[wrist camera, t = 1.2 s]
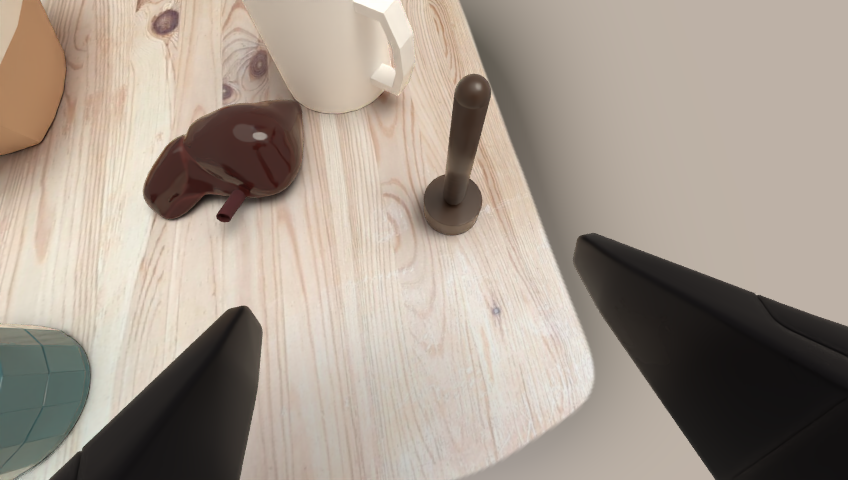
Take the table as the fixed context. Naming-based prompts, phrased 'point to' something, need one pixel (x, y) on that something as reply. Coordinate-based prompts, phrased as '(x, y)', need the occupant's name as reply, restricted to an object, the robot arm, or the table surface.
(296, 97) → the mug
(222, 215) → the liver model
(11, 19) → the bowl
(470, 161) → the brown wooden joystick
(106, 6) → the table surface
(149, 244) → the table surface
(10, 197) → the table surface
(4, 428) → the stir bowl
